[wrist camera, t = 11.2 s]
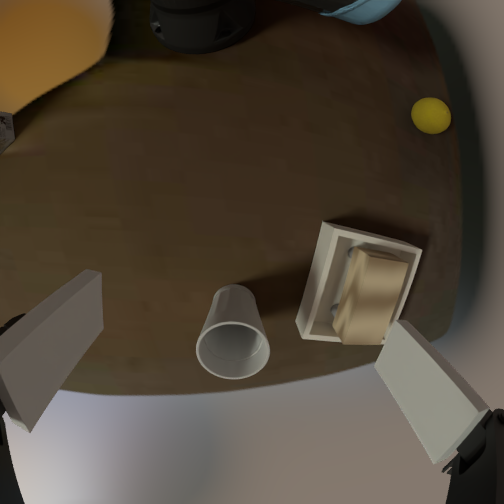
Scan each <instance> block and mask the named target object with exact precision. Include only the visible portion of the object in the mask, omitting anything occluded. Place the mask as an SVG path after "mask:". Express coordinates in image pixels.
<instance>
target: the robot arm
mask: <svg viewBox="0 0 504 504" xmlns="http://www.w3.org/2000/svg"><path fill="white" fill-rule="evenodd" d="M150 1H151V7H150V26H151V29H152V31H153V33H154V35H155V36H156V38H157V39H158V40H159V42H160V43H161V44H163V45H164V46H165V47H167V48H169V49H171V50H173V51H176V52H180V53H186V54H203V53H209V52H214V51H217V50H221V49H223V48H226V47H228V46H230V45H232V44H234V43H235V42H237V41H238V40H240V39H241V38H242V37H243V36H244V35H245V34H246V33H247V32H248V31H249V30H250V28H251V26H252V24H253V22H254V18H255V10H256V6H255V1H254V0H150ZM276 1H280V2H284V3H288V4H292V5H296V6H299V7H302V8H306V9H309V10H312V11H315V12H318V13H320V14H321V15H323V16H332V17H335V18H338V19H341V20H344V21H347V22H350V23H353V24H357V25H364V24H369V23H372V22H375V21H378V20H379V19H381V18H383V17H384V16H386V15H387V14H388V13H389V12H391V11H392V10H393V9H394V8H395V7H396V6H397V5H398V4H399V3H400V2H401V1H402V0H276ZM103 329H104V328H103V312H102V273H101V272H97V271H93V270H89V269H86V270H84V271H83V272H82V273H80V274H79V275H77V276H76V277H75V278H73V279H72V280H70V281H69V282H68V283H66V284H65V285H64V286H62V287H61V288H59V289H58V290H57V291H55V292H54V293H53V294H51V295H50V296H49V297H48V298H46V299H45V300H44V301H42V302H41V303H40V304H38V305H37V306H36V307H35V308H33V309H32V310H31V311H30V312H28V313H27V314H25V313H23V314H21V315H18V316H16V317H14V318H12V319H11V320H9V321H8V322H7V323H6V324H4V327H1V328H0V504H25V503H24V501H23V498H22V495H21V492H20V489H19V486H18V482H17V479H16V476H15V472H14V468H13V464H12V460H11V455H10V451H9V445H8V440H7V434H6V428H5V422H4V420H3V418H2V415H3V414H4V413H5V411H6V412H7V413H8V415H9V417H10V419H11V420H12V422H13V423H14V424H16V425H17V426H19V427H21V428H22V429H24V430H26V431H27V432H29V433H31V431H32V429H33V428H34V426H35V424H36V423H37V421H38V420H39V418H40V417H41V415H42V414H43V412H44V410H45V409H46V407H47V406H48V404H49V403H50V401H51V400H52V398H53V397H54V395H55V394H56V393H57V391H58V390H59V388H60V387H61V385H62V384H63V382H64V381H65V380H66V378H67V377H68V375H69V374H70V373H71V371H72V370H73V368H74V367H75V366H76V364H77V363H78V361H79V360H80V359H81V357H82V356H83V355H84V353H85V352H86V351H87V349H88V348H89V347H90V345H91V344H92V343H93V341H94V340H95V339H96V338H97V336H98V335H99V334H100V332H101V331H102V330H103ZM374 367H375V369H376V370H377V372H378V373H379V375H380V376H381V378H382V379H383V381H384V383H385V384H386V386H387V388H388V389H389V391H390V392H391V394H392V395H393V397H394V399H395V400H396V402H397V403H398V405H399V407H400V408H401V410H402V412H403V413H404V415H405V417H406V418H407V420H408V422H409V423H410V425H411V426H412V428H413V430H414V431H415V433H416V435H417V437H418V438H419V440H420V442H421V443H422V445H423V446H424V448H425V450H426V452H427V454H428V456H429V457H430V459H431V461H432V463H433V464H436V463H438V462H441V461H443V460H446V459H447V458H448V457H449V456H450V455H451V454H452V453H453V452H454V451H455V450H456V449H457V451H458V452H459V453H458V454H457V455H456V456H455V457H454V458H453V459H452V460H451V461H450V462H449V463H448V464H447V465H446V466H445V467H444V468H443V470H442V472H443V473H444V472H445V471H446V470H447V469H448V468H449V467H452V468H451V469H450V470H449V471H448V472H447V474H450V475H451V479H450V485H449V490H448V495H447V500H446V504H504V410H503V409H495V410H494V411H493V412H492V411H491V410H490V409H489V406H488V405H487V404H486V403H485V402H484V401H483V399H482V398H481V397H480V396H479V395H478V394H477V393H476V392H475V390H474V389H473V388H472V387H471V386H470V385H469V384H468V383H467V382H466V380H465V379H464V378H463V377H462V376H461V375H460V374H459V373H458V372H457V371H456V370H455V369H454V368H453V367H452V365H450V363H449V362H448V361H447V360H446V359H445V358H444V357H443V356H442V355H441V354H440V353H439V352H438V351H437V350H436V349H435V348H434V347H433V346H432V345H431V344H430V343H429V342H428V341H427V340H426V339H425V338H424V337H423V336H422V335H421V334H420V333H419V332H418V331H417V330H416V329H415V328H414V327H413V326H412V325H411V324H410V323H409V322H408V321H406V320H395V322H394V324H393V326H392V329H391V331H390V333H389V336H388V338H387V340H386V342H385V344H384V347H383V349H382V351H381V353H380V355H379V357H378V359H377V361H376V363H375V365H374Z"/></svg>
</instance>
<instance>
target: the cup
mask: <svg viewBox="0 0 504 504" xmlns="http://www.w3.org/2000/svg"><path fill="white" fill-rule="evenodd" d="M196 353H197V357H198V360H199V361H200V363H201V364H202V366H203V367H204V368H205V369H206V370H207V371H209V372H210V373H212V374H214V375H216V376H218V377H222V378H226V379H242V378H246V377H249V376H252V375H254V374H255V373H257V372H258V371H260V370H261V369H262V368H263V367H264V366H265V364H266V363H267V361H268V359H269V355H270V346H269V343H268V340H267V337H266V334H265V331H264V328H263V325H262V322H261V319H260V316H259V312H258V309H257V306H256V300H255V297H254V295H253V293H252V292H251V291H250V290H249V289H247V288H246V287H244V286H241V285H237V284H231V285H226V286H224V287H222V288H221V289H219V290H218V291H217V292H216V294H215V295H214V298H213V302H212V306H211V308H210V311H209V314H208V316H207V319H206V322H205V324H204V326H203V329H202V331H201V334H200V336H199V339H198V341H197V345H196Z"/></svg>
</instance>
